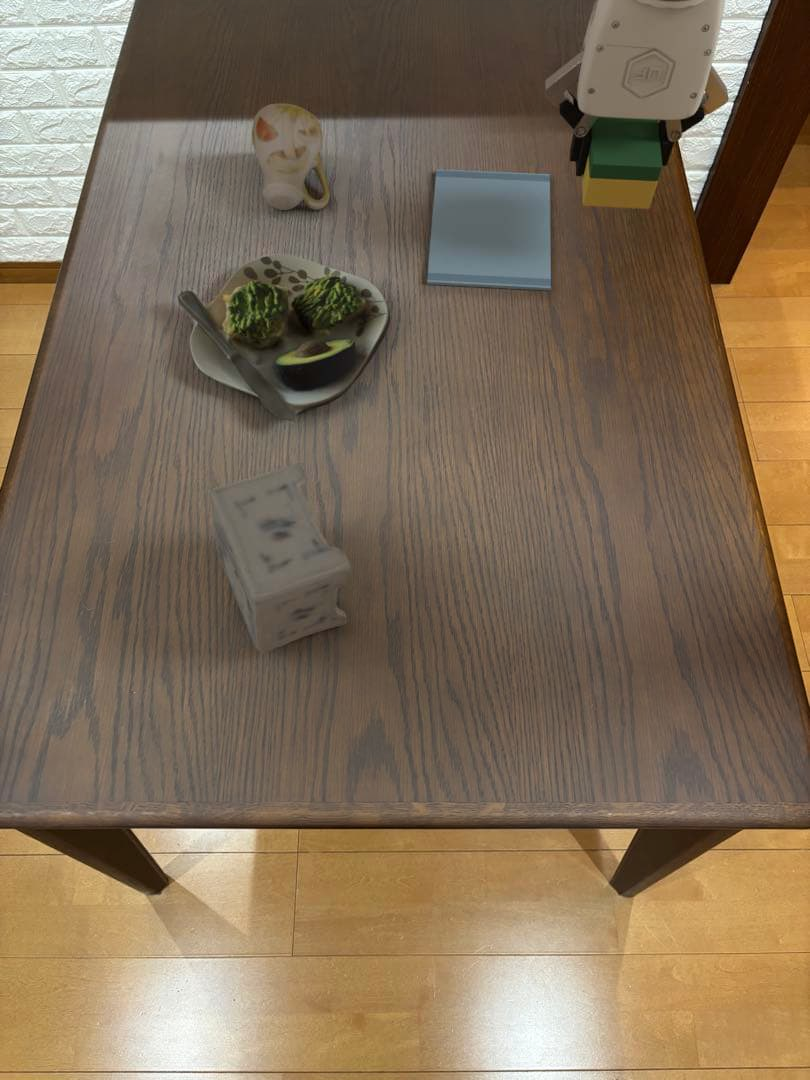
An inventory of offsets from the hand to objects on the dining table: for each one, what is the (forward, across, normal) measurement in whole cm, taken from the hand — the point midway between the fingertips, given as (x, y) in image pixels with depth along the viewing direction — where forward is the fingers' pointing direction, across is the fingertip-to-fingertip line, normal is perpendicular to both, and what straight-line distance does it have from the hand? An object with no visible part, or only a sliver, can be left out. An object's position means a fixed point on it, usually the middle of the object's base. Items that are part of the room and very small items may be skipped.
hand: (615, 166), depth 76 cm
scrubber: (+1, 0, 0) cm, 1 cm away
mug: (+8, -32, +5) cm, 33 cm away
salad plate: (+8, -29, -16) cm, 34 cm away
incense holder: (+8, -26, -41) cm, 49 cm away
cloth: (+8, -11, 0) cm, 14 cm away
